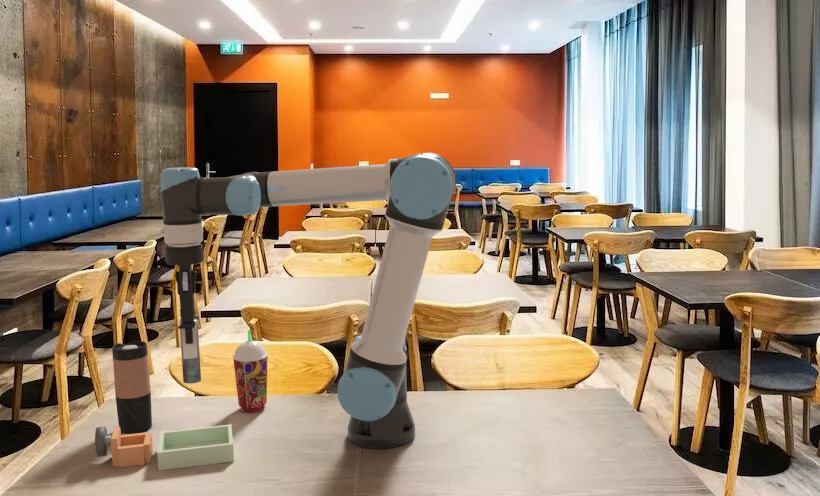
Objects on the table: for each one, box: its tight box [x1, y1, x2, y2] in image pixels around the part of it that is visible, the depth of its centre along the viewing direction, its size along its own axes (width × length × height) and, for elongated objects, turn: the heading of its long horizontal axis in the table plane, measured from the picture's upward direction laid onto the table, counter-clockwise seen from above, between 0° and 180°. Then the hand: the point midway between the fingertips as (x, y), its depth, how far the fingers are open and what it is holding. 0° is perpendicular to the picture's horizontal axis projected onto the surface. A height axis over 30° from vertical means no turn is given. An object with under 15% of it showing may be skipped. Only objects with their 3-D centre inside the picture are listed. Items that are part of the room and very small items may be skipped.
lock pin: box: [178, 318, 202, 384], centre depth 158 cm, size 4×4×13 cm
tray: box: [156, 424, 235, 471], centre depth 162 cm, size 15×11×4 cm
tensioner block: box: [94, 426, 154, 468], centre depth 160 cm, size 10×7×8 cm
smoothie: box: [232, 329, 269, 413], centre depth 187 cm, size 8×8×20 cm
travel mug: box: [111, 340, 153, 435], centre depth 175 cm, size 8×8×20 cm
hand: (190, 354), depth 158 cm, fingers closed on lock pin, 3 cm apart
